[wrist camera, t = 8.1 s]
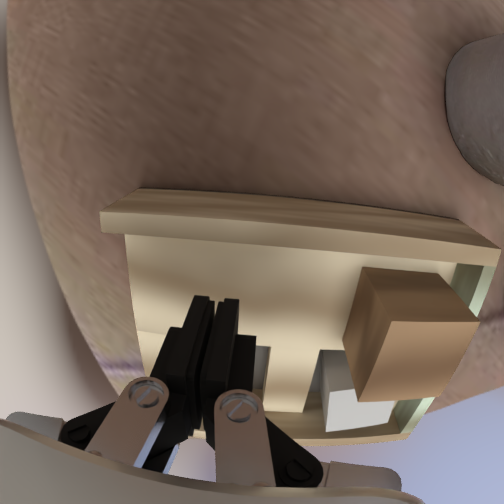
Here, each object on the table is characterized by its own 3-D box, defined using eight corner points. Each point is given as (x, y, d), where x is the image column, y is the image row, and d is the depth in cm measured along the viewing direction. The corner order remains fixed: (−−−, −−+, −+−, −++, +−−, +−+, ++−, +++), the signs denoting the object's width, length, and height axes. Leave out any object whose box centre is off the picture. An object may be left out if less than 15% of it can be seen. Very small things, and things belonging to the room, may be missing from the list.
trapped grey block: (321, 344, 21) (329, 391, 17) (382, 337, 20) (400, 381, 16) (319, 386, 23) (325, 432, 18) (374, 379, 22) (387, 422, 18)
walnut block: (362, 266, 16) (391, 321, 11) (438, 273, 16) (480, 321, 11) (341, 340, 18) (357, 402, 13) (412, 341, 18) (439, 396, 13)
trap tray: (140, 187, 18) (99, 211, 13) (458, 219, 17) (501, 249, 12) (160, 381, 24) (143, 427, 19) (392, 395, 23) (406, 439, 19)
